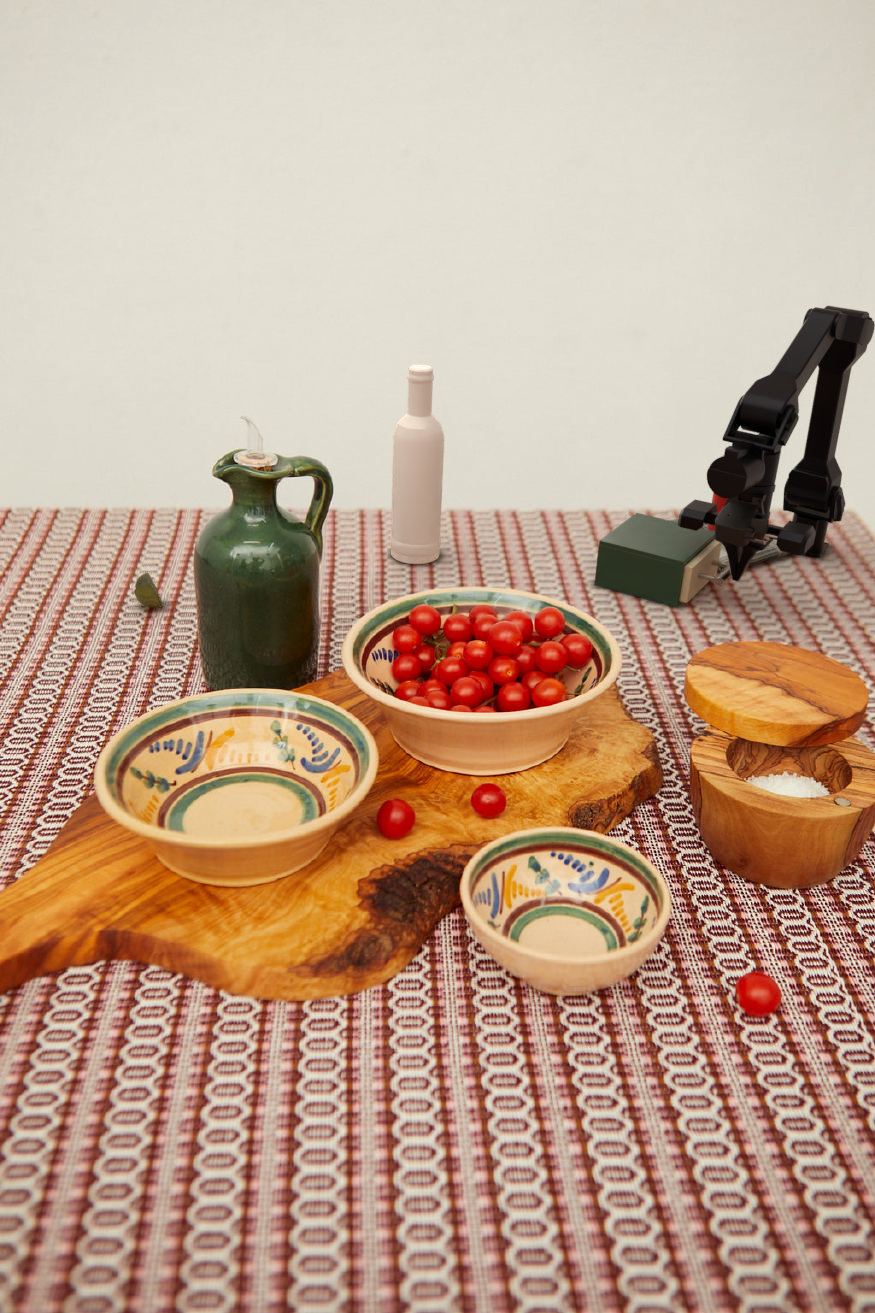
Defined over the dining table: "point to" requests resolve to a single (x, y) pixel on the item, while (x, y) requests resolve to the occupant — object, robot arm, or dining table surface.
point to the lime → (147, 592)
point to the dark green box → (648, 558)
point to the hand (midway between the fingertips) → (736, 580)
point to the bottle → (417, 475)
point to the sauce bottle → (720, 504)
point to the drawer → (703, 571)
